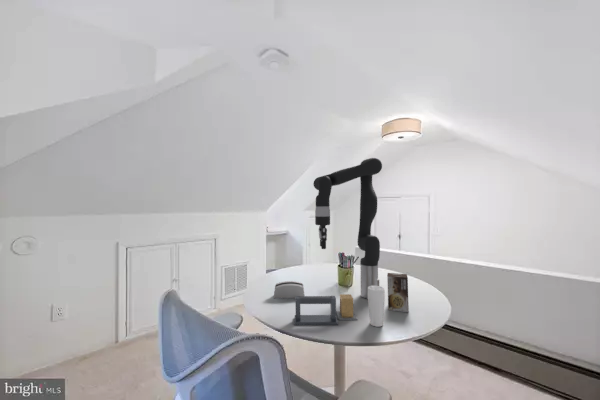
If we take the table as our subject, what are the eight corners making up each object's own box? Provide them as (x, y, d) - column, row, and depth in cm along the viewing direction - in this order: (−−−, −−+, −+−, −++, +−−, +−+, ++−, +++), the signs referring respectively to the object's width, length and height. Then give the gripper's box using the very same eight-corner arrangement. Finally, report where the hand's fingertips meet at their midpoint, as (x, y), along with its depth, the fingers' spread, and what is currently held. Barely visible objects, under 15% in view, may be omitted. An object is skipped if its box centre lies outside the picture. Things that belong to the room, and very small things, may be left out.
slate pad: (353, 312, 118) (353, 311, 118) (357, 320, 110) (357, 318, 110) (336, 312, 118) (336, 311, 118) (338, 320, 110) (338, 318, 110)
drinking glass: (365, 321, 109) (365, 285, 110) (381, 320, 110) (380, 285, 110) (371, 328, 102) (370, 290, 103) (387, 327, 103) (387, 290, 103)
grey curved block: (304, 294, 143) (304, 279, 140) (304, 300, 138) (305, 284, 135) (273, 295, 142) (273, 279, 138) (273, 301, 137) (273, 285, 134)
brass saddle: (350, 312, 117) (350, 294, 117) (353, 317, 111) (353, 298, 112) (339, 312, 117) (339, 294, 117) (341, 317, 111) (341, 298, 112)
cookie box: (407, 307, 124) (407, 273, 124) (408, 312, 118) (408, 277, 118) (387, 305, 127) (387, 272, 127) (387, 310, 121) (387, 275, 121)
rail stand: (335, 317, 113) (335, 294, 113) (337, 325, 106) (337, 300, 106) (294, 317, 113) (294, 294, 113) (294, 325, 106) (294, 300, 106)
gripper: (331, 216, 123) (332, 249, 123) (328, 215, 137) (328, 245, 137) (316, 216, 123) (316, 250, 123) (314, 215, 137) (314, 245, 137)
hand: (322, 247), depth 130 cm, fingers open, 8 cm apart
